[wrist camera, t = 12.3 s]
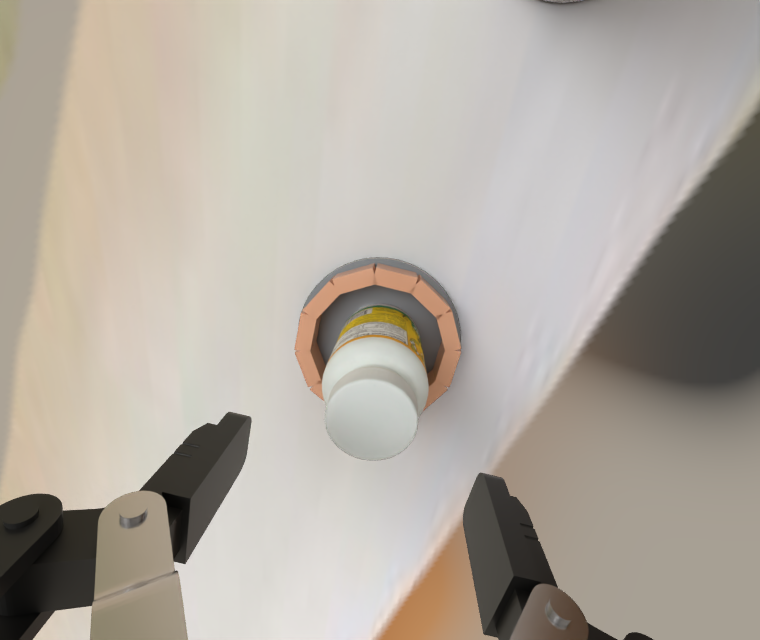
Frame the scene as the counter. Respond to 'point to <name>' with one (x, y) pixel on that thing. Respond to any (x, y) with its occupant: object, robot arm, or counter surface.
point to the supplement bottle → (375, 383)
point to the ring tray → (379, 286)
